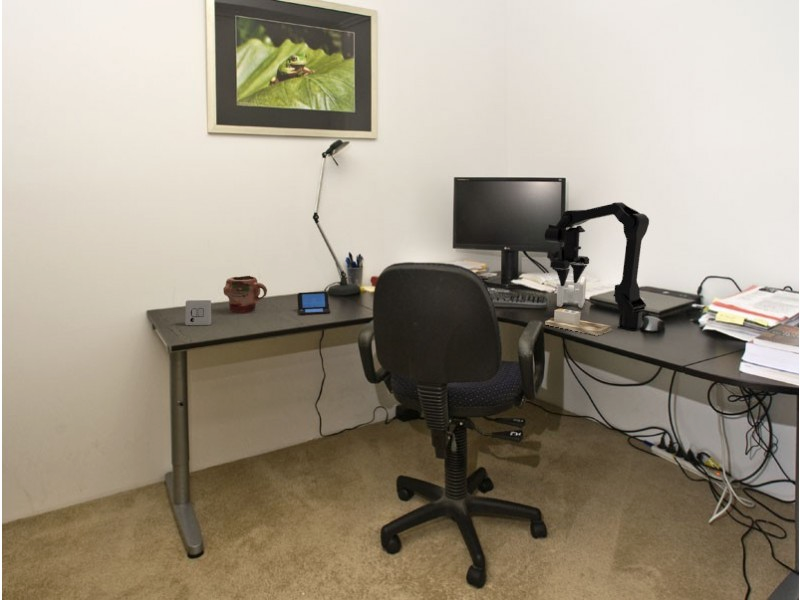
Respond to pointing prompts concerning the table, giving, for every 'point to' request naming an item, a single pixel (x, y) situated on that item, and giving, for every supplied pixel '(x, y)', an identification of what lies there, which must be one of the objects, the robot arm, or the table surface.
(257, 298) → the reddish brown mug
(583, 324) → the board
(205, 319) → the electrical switch
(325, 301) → the handheld game console
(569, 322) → the white rectangular block
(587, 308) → the table surface
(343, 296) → the table surface
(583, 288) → the cable organizer
